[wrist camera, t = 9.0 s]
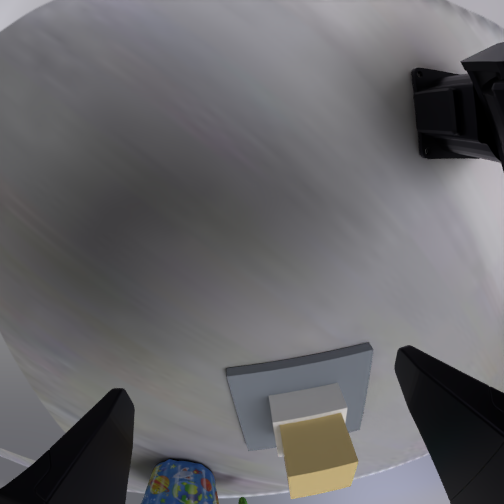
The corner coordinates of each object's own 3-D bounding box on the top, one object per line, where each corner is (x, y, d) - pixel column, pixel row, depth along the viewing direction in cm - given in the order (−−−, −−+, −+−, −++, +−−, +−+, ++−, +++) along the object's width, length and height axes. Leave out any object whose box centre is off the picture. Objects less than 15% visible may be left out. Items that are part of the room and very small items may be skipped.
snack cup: (121, 470, 30) (109, 530, 21) (125, 435, 27) (107, 511, 18) (230, 492, 33) (232, 551, 24) (257, 463, 30) (264, 535, 20)
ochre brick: (341, 412, 21) (358, 461, 17) (337, 442, 23) (350, 486, 18) (279, 424, 21) (288, 476, 16) (283, 453, 23) (290, 498, 18)
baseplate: (369, 342, 24) (373, 349, 23) (356, 423, 28) (359, 429, 27) (226, 368, 24) (226, 376, 23) (247, 443, 28) (248, 450, 27)
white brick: (337, 382, 24) (347, 407, 21) (334, 421, 26) (342, 444, 23) (268, 395, 24) (272, 422, 21) (274, 432, 26) (278, 457, 23)
